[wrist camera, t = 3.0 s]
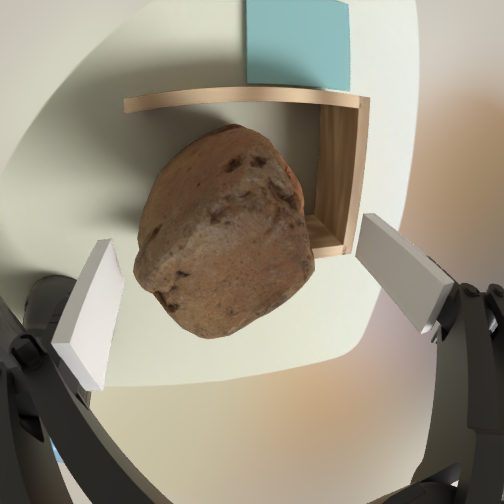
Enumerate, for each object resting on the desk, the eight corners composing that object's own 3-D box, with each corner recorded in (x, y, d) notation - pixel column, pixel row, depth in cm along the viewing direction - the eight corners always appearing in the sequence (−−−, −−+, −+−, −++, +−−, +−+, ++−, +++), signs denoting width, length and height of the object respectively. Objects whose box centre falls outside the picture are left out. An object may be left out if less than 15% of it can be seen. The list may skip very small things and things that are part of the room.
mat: (246, 83, 25) (247, 83, 24) (245, -11, 19) (246, -13, 18) (347, 91, 27) (349, 91, 26) (345, 5, 21) (348, 4, 20)
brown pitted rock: (194, 219, 32) (208, 362, 15) (151, 172, 28) (101, 285, 11) (270, 162, 30) (372, 253, 13) (231, 109, 26) (306, 124, 9)
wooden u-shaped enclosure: (158, 239, 32) (152, 278, 25) (141, 99, 23) (123, 99, 17) (321, 222, 35) (351, 253, 29) (330, 95, 27) (370, 97, 20)
